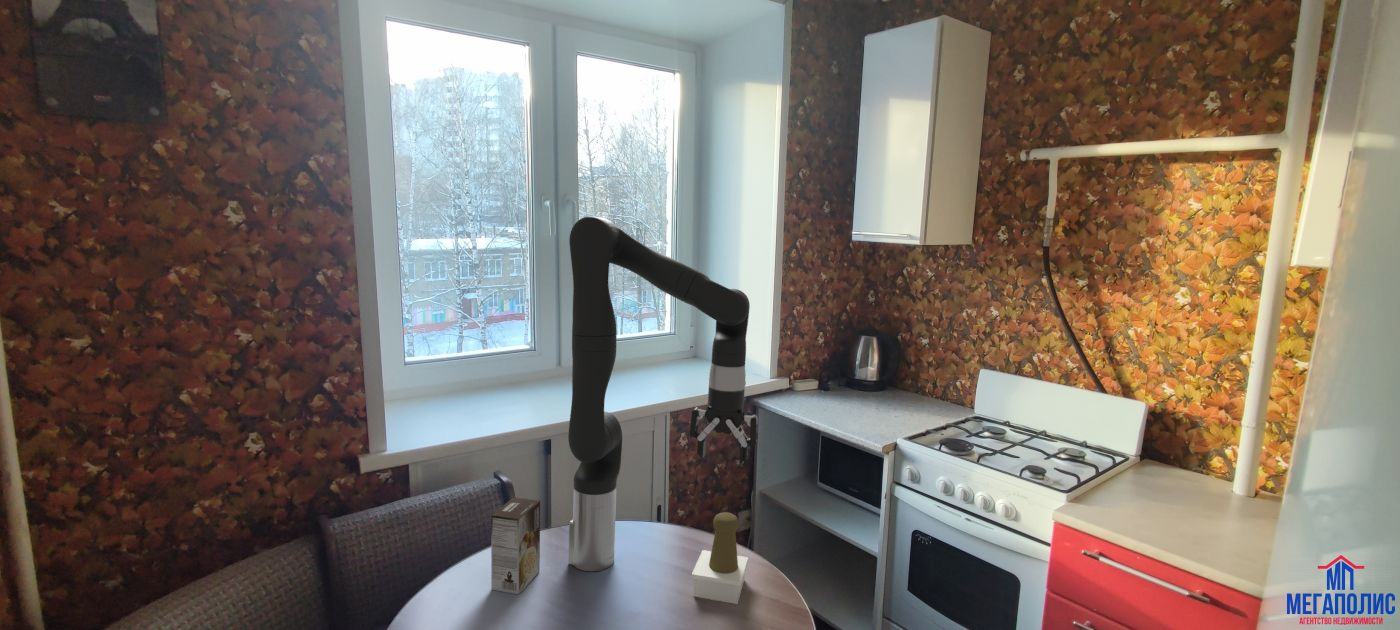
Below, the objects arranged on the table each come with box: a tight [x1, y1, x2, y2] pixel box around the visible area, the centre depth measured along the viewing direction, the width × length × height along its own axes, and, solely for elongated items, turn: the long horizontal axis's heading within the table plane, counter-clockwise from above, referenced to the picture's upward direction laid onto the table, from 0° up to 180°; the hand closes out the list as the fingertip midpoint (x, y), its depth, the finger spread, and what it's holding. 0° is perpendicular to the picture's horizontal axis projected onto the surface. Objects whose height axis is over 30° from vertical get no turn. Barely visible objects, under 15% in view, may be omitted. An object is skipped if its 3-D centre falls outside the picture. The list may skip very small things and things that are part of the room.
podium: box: [691, 549, 749, 605], centre depth 127 cm, size 10×10×5 cm
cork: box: [709, 511, 740, 574], centre depth 126 cm, size 6×6×11 cm
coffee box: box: [490, 497, 541, 595], centre depth 125 cm, size 9×6×16 cm
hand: (721, 459), depth 129 cm, fingers open, 8 cm apart
